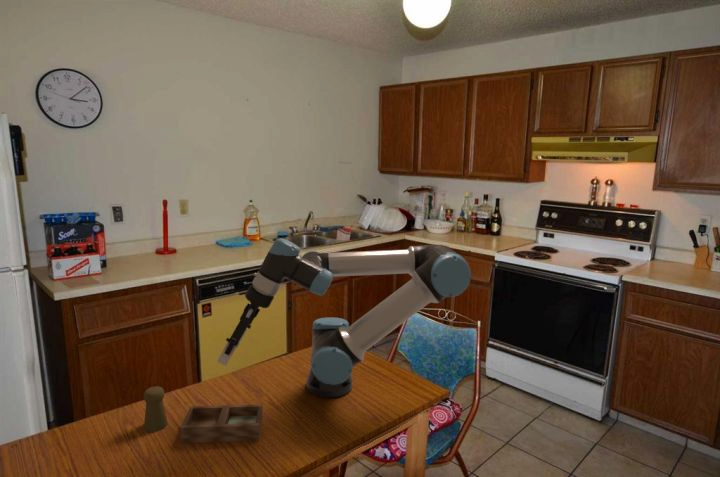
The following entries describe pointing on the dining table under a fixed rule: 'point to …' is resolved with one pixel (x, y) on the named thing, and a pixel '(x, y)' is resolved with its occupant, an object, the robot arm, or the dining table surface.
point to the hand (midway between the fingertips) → (227, 354)
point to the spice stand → (222, 423)
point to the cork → (154, 410)
